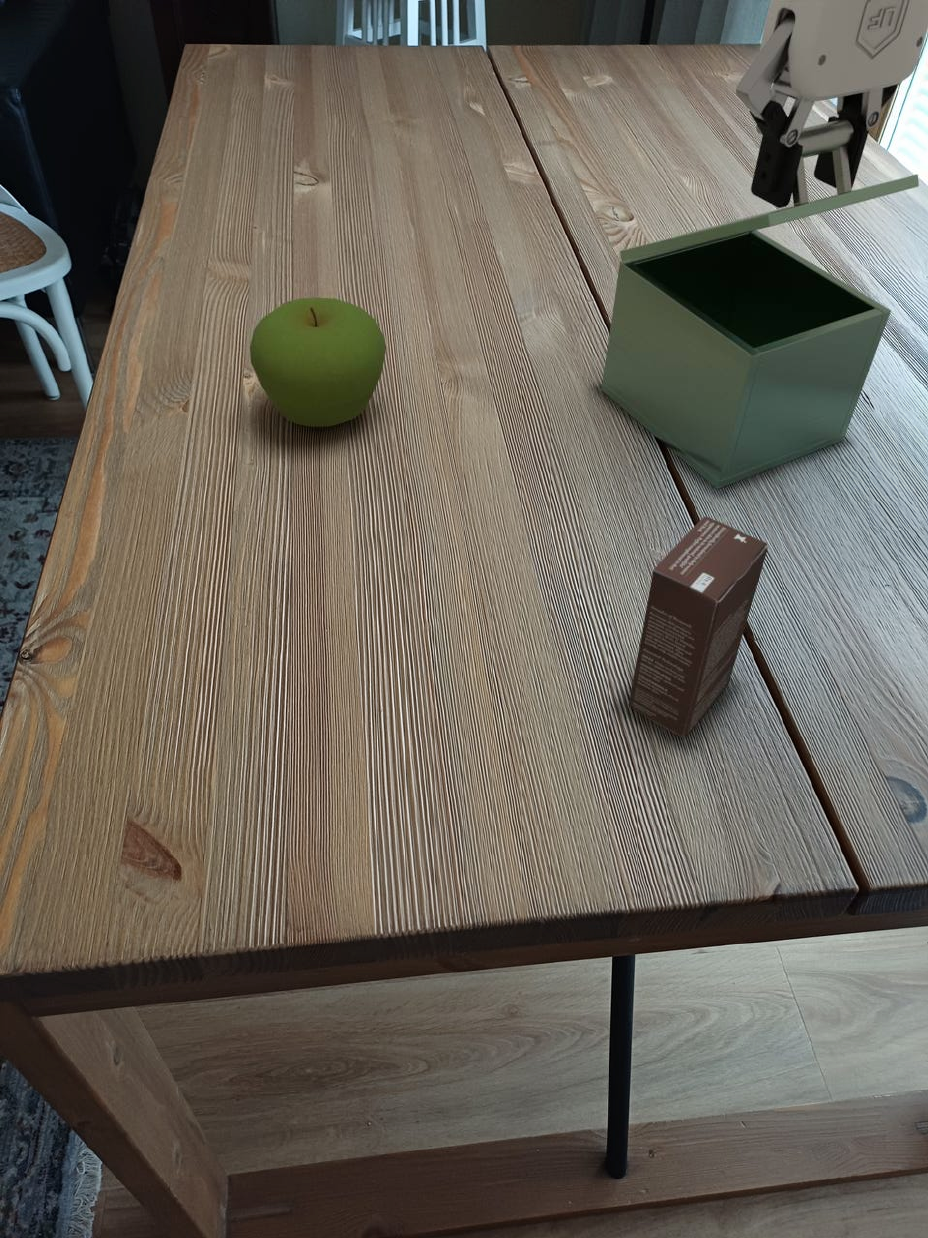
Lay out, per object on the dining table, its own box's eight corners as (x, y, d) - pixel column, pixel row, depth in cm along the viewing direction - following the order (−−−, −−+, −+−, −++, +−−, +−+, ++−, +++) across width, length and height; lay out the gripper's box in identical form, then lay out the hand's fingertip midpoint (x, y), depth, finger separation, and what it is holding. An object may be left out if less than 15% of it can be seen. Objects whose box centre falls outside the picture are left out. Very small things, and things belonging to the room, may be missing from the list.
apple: (298, 470, 77) (284, 359, 70) (237, 407, 82) (218, 297, 75) (413, 425, 81) (411, 315, 74) (347, 367, 87) (339, 261, 80)
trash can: (843, 440, 81) (891, 310, 73) (716, 489, 76) (752, 356, 68) (721, 351, 90) (751, 226, 82) (601, 390, 85) (619, 261, 77)
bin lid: (919, 186, 67) (911, 100, 65) (770, 226, 62) (757, 135, 61) (753, 225, 82) (743, 156, 80) (621, 261, 77) (608, 188, 75)
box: (668, 651, 64) (705, 511, 56) (729, 684, 63) (777, 545, 54) (619, 706, 61) (650, 566, 52) (682, 743, 59) (725, 605, 51)
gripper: (820, -115, 49) (742, 238, 62) (1041, -137, 56) (929, 188, 68) (723, -137, 54) (669, 195, 67) (937, -156, 60) (850, 152, 73)
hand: (801, 189), depth 68 cm, fingers closed on bin lid, 5 cm apart
